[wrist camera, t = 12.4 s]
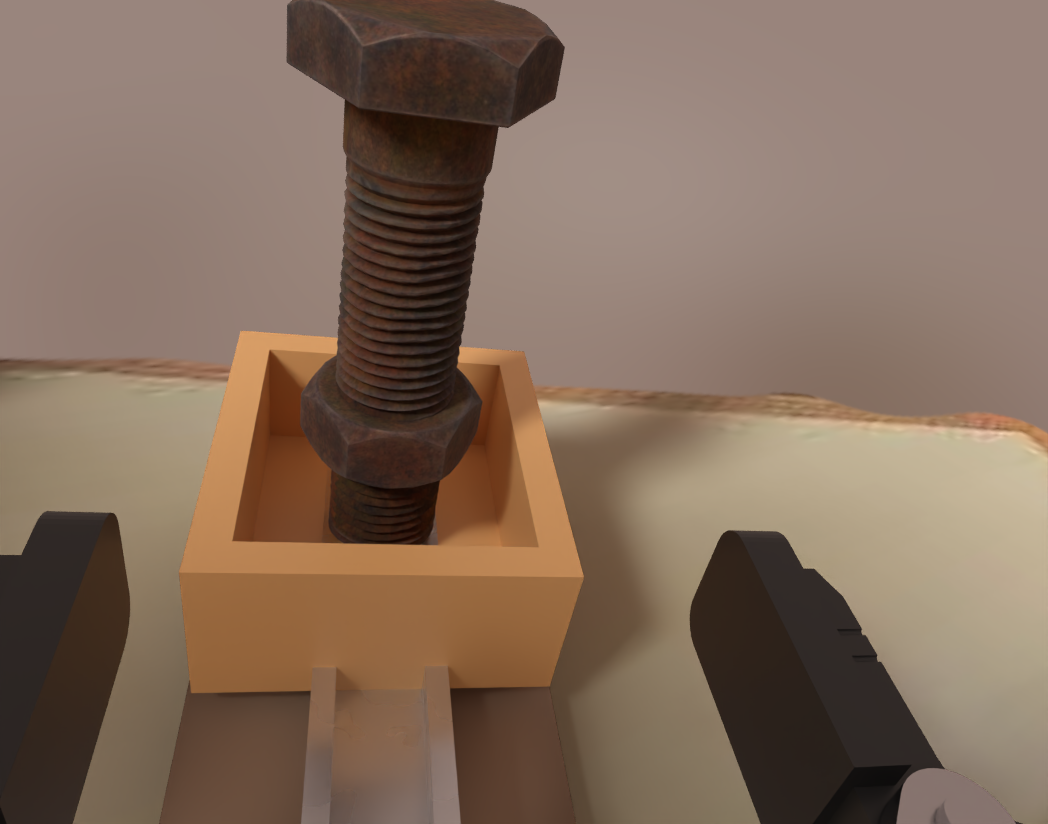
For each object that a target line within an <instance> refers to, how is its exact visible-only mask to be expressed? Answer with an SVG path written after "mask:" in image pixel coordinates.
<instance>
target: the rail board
mask: <svg viewBox="0 0 1048 824" xmlns="http://www.w3.org/2000/svg"><path fill="white" fill-rule="evenodd" d="M310 697H311V691H278V692H223V693H191V687H190V680H189V685H188V690H187V695H186V699H185V704H184V709H183V713H182V718H181V723H180V727H179V732H178V737H177V742H176V746H175V751H174V756H173V760H172V765H171V770H170V775H169V779H168V784H167V789H166V793H165V798H164V803H163V807H162V812H161V817H160V822H159V824H301V818H302V805H303V791H304V778H305V764H306V751H307V737H308V724H309V710H310ZM450 698H451V710H452V722H453V735H454V747H455V759H456V772H457V784H458V796H459V808H460V821H461V824H576V822H575V817H574V811H573V806H572V801H571V796H570V791H569V786H568V780H567V775H566V770H565V765H564V760H563V755H562V749H561V744H560V739H559V734H558V729H557V724H556V718H555V713H554V708H553V703H552V698H551V693H550V687H496V688H450Z"/></svg>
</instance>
